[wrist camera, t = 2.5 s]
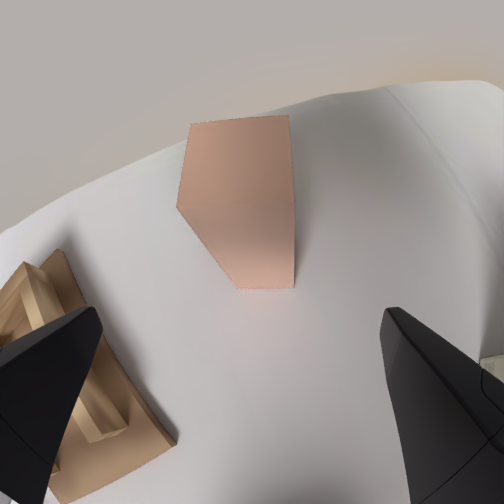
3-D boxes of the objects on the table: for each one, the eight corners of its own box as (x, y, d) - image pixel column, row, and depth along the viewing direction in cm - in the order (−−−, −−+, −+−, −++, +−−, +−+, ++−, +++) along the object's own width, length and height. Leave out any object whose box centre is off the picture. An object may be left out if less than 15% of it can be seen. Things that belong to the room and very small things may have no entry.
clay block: (293, 287, 21) (294, 200, 9) (237, 288, 21) (176, 207, 10) (292, 234, 22) (288, 115, 11) (238, 236, 23) (190, 124, 11)
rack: (176, 444, 18) (150, 461, 13) (68, 503, 15) (39, 515, 11) (63, 252, 24) (33, 234, 20) (-11, 340, 22) (-40, 333, 18)
